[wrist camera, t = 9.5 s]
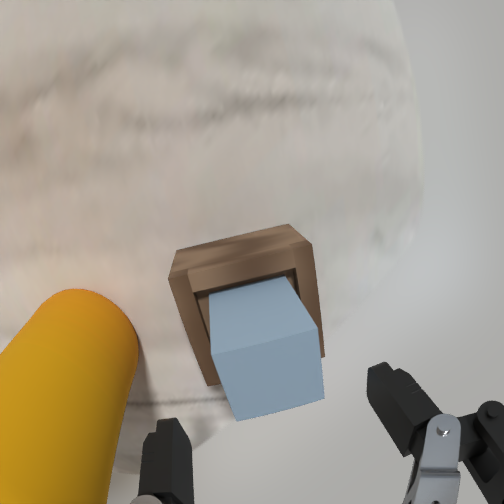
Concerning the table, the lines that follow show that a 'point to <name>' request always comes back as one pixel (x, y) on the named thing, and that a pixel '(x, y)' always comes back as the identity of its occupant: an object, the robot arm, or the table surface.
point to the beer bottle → (64, 400)
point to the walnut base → (240, 280)
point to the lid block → (264, 348)
